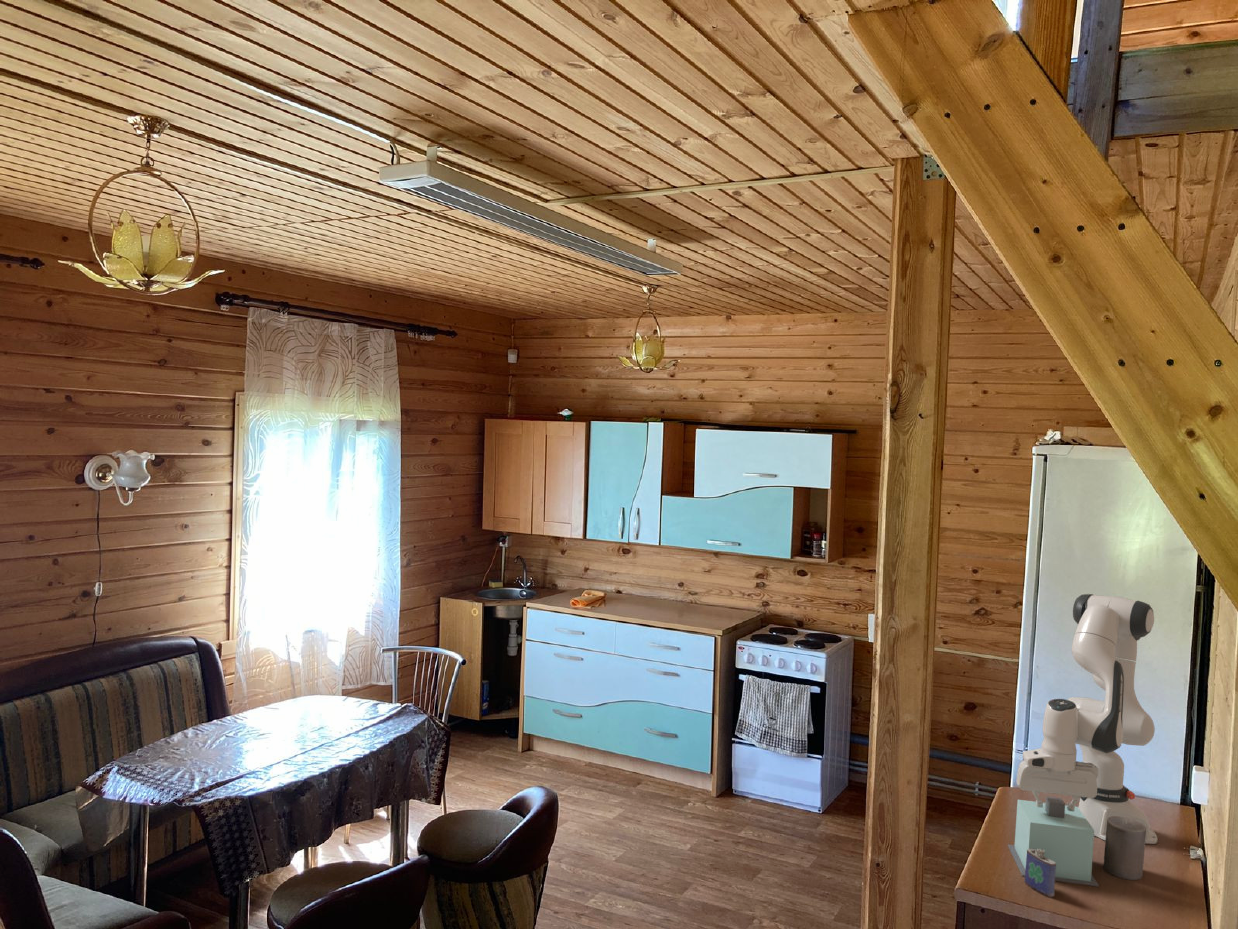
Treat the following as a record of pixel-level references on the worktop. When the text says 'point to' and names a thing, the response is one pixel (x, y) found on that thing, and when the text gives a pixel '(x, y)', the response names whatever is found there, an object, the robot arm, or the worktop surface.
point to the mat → (1022, 871)
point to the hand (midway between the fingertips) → (1054, 808)
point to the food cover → (1056, 836)
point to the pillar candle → (1124, 847)
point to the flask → (1040, 872)
